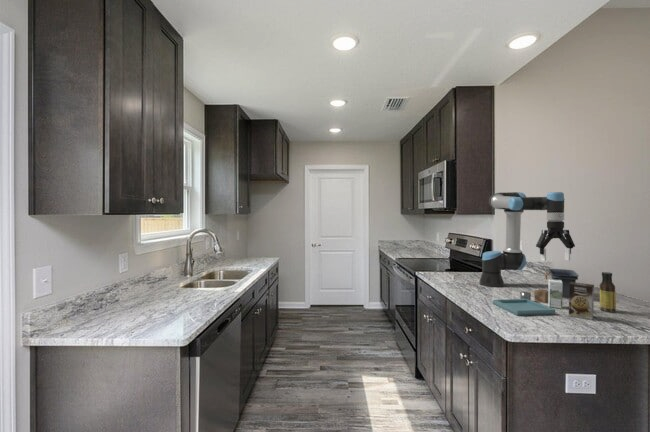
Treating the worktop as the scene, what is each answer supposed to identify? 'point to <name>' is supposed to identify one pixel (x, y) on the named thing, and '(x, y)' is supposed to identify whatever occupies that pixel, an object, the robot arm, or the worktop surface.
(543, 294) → the walnut block
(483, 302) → the worktop surface
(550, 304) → the syrup box
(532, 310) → the tray
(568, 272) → the storage bin
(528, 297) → the grey metal cylinder
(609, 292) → the sauce bottle
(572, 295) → the coffee box
